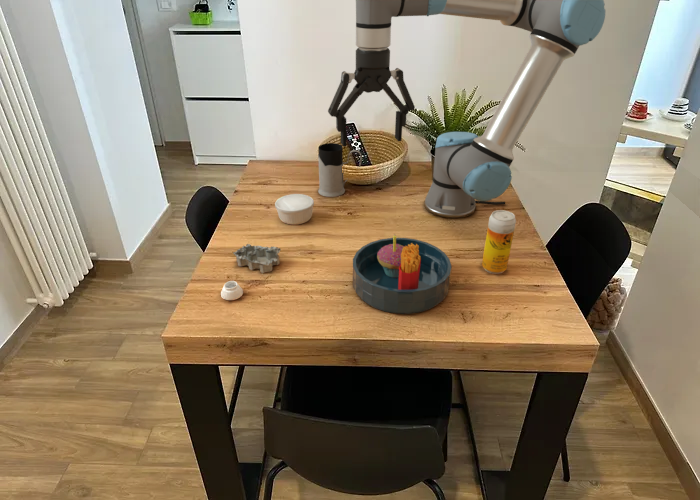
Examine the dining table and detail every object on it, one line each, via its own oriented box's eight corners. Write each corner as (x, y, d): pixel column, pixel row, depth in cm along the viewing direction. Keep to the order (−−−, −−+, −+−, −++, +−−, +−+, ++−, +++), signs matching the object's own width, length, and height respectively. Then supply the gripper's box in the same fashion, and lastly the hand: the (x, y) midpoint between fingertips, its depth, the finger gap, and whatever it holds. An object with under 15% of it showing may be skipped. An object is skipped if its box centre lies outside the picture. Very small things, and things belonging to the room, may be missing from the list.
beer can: (492, 277, 121) (502, 223, 113) (476, 265, 126) (484, 212, 118) (511, 271, 123) (522, 217, 115) (494, 259, 128) (504, 207, 120)
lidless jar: (217, 293, 116) (226, 304, 112) (216, 283, 114) (225, 293, 111) (237, 286, 118) (247, 296, 115) (236, 275, 117) (245, 285, 113)
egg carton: (283, 261, 128) (282, 248, 125) (266, 276, 122) (264, 262, 120) (250, 251, 132) (249, 237, 130) (232, 264, 126) (230, 251, 124)
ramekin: (269, 222, 145) (267, 206, 142) (287, 206, 154) (286, 191, 151) (303, 229, 141) (302, 213, 139) (320, 212, 150) (319, 197, 147)
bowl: (427, 254, 130) (429, 232, 127) (464, 306, 111) (468, 282, 108) (343, 266, 125) (342, 244, 122) (367, 322, 107) (367, 298, 103)
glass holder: (317, 185, 167) (316, 142, 159) (360, 184, 168) (360, 141, 160) (318, 197, 159) (316, 152, 151) (362, 195, 160) (363, 151, 152)
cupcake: (409, 284, 117) (412, 240, 111) (373, 280, 119) (375, 236, 113) (412, 264, 125) (416, 222, 118) (379, 260, 126) (380, 219, 120)
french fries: (412, 307, 110) (415, 262, 104) (394, 304, 111) (397, 258, 105) (420, 286, 117) (424, 242, 110) (403, 283, 118) (406, 239, 112)
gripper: (420, 42, 114) (414, 132, 125) (313, 47, 109) (317, 141, 120) (433, 47, 108) (425, 142, 119) (319, 53, 103) (323, 152, 114)
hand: (371, 142), depth 119 cm, fingers open, 13 cm apart
